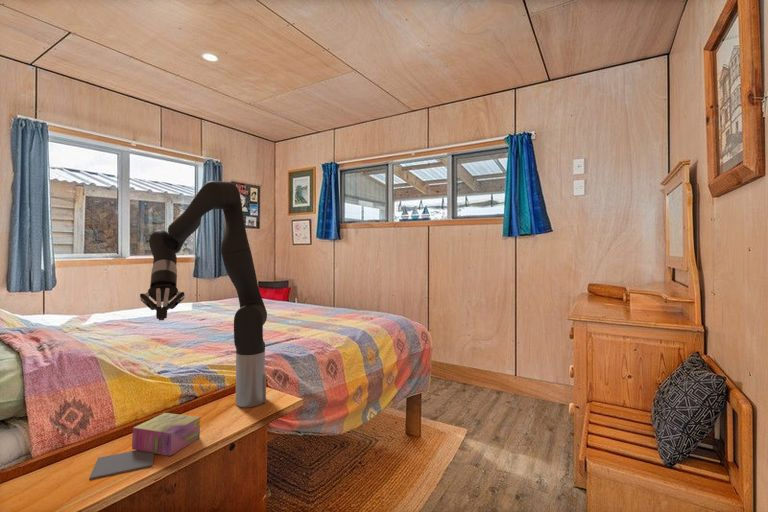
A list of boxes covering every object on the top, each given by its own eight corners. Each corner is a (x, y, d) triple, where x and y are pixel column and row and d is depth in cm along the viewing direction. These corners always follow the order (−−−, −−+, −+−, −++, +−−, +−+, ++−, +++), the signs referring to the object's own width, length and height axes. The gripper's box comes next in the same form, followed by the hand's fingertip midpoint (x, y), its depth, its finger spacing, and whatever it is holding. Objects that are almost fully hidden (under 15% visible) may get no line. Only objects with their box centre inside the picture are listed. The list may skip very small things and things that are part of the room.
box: (131, 450, 95) (170, 456, 92) (132, 427, 95) (171, 432, 93) (163, 433, 105) (200, 437, 102) (164, 412, 105) (200, 416, 103)
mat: (155, 447, 97) (155, 446, 97) (152, 466, 89) (152, 464, 89) (98, 459, 91) (98, 457, 91) (89, 479, 83) (89, 478, 83)
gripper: (139, 269, 120) (134, 313, 110) (186, 268, 127) (185, 310, 116) (141, 284, 125) (137, 327, 115) (186, 282, 131) (185, 324, 121)
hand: (161, 318), depth 115 cm, fingers closed
